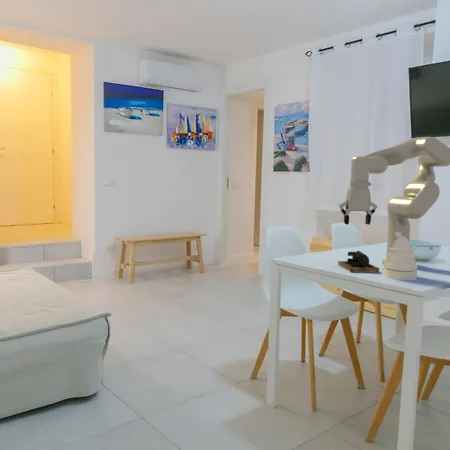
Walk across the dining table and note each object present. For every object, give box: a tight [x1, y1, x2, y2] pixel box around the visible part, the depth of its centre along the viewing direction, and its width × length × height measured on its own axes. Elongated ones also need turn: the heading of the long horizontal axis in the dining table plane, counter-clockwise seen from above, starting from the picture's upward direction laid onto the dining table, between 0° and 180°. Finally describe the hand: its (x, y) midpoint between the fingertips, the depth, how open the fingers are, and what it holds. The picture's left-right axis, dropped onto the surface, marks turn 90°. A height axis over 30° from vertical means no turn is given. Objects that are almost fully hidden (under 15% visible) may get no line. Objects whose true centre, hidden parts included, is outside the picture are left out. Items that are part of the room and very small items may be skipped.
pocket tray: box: [337, 260, 380, 273], centre depth 195 cm, size 12×15×2 cm
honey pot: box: [382, 232, 418, 281], centre depth 180 cm, size 13×13×18 cm
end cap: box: [346, 250, 370, 268], centre depth 195 cm, size 10×7×7 cm
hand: (357, 224), depth 195 cm, fingers open, 9 cm apart
